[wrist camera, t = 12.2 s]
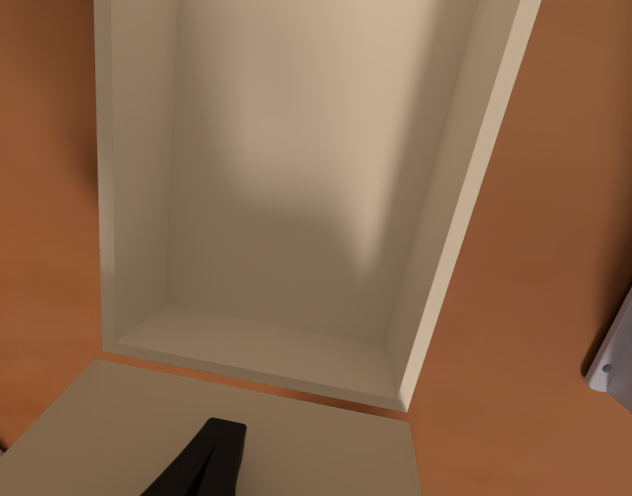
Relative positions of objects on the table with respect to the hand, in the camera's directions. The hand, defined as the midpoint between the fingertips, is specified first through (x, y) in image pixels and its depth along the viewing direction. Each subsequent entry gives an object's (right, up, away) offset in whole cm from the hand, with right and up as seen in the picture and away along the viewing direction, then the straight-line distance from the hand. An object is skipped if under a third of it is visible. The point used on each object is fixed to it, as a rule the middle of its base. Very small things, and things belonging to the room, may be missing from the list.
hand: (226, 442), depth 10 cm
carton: (+2, +11, +4) cm, 13 cm away
